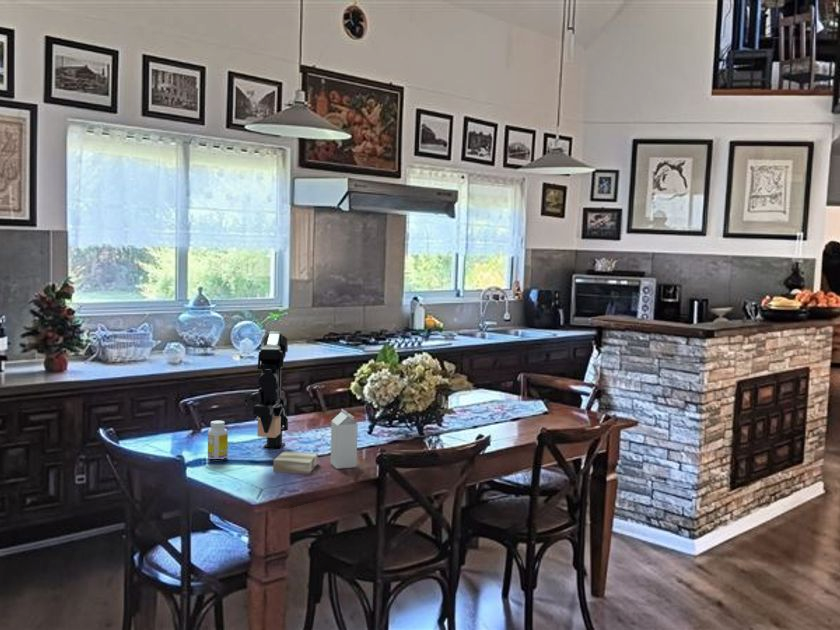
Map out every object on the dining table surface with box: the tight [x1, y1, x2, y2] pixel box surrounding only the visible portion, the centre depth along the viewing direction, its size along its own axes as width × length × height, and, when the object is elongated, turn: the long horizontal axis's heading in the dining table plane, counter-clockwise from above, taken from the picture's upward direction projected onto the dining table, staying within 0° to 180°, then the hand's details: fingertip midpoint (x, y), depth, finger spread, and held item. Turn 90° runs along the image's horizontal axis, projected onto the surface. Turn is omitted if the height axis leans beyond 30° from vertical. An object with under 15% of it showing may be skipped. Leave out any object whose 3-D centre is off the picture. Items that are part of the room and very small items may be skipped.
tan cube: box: [257, 416, 281, 438], centre depth 273 cm, size 6×6×6 cm
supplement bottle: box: [207, 420, 229, 460], centre depth 281 cm, size 7×7×13 cm
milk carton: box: [330, 408, 359, 469], centre depth 277 cm, size 7×7×19 cm
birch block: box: [272, 450, 319, 475], centre depth 274 cm, size 12×12×4 cm
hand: (269, 430), depth 274 cm, fingers closed on tan cube, 6 cm apart
